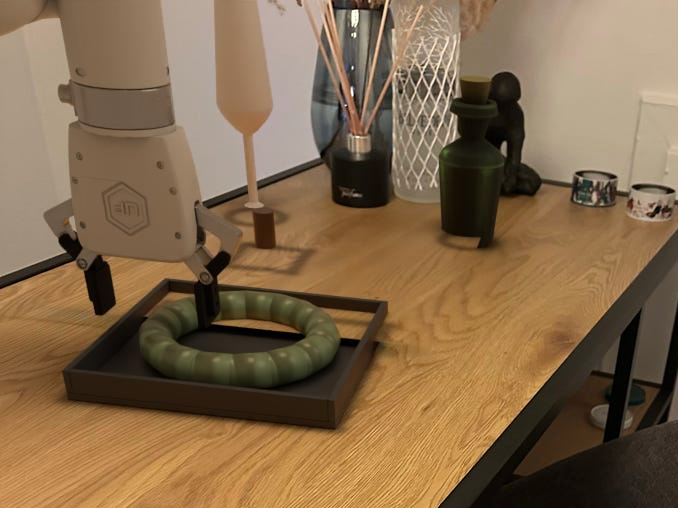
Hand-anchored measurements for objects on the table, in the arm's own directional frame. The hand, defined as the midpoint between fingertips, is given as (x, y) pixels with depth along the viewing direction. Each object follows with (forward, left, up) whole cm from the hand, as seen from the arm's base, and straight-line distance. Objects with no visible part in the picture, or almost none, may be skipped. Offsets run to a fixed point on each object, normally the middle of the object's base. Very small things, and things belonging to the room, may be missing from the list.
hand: (157, 316), depth 86 cm
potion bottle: (+24, +42, -4) cm, 48 cm away
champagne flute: (-4, +43, -4) cm, 43 cm away
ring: (+8, 0, -1) cm, 8 cm away
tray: (+8, 0, -3) cm, 8 cm away
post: (+2, +28, -3) cm, 28 cm away
